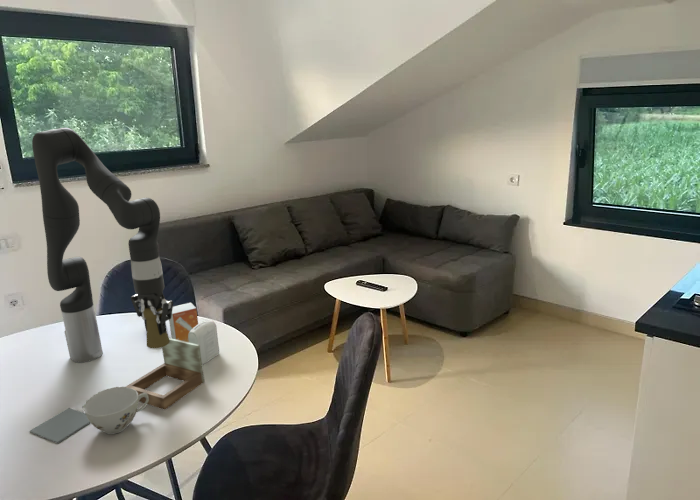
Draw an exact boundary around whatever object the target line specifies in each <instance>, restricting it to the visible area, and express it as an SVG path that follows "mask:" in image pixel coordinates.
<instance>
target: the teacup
mask: <svg viewBox="0 0 700 500" xmlns="http://www.w3.org/2000/svg"><path fill="white" fill-rule="evenodd" d="M142 397H145V398H146V402H145V403H142V405H141V406H140V407H139V403H140V402H139V400H140V399H141V398H142ZM148 401H149V397H148V394H147V393H142V394H140V395H138V393H137V391H136V390H134V389H132V388H127V387H126V386H115V387H110V388H106V389H103V390H100V391H99V392H97V393H95V394H93V395H92V396H90V398H89V399H87V400H86V401H85V403H84V404H83V406H82V409H83V413H85V414H86V416H87V418H88V420H89V421H90V422H91V423H90V424H91V425H92V426H93V427H94V428H95V429H97V430H98V431H101V432H104V433H105V434H109V435H112V434H113V435H114V434H118V433H121V432H123V431H124V430H125V429H126V428H127V427H129V425H130V424H131V423H132V421H133V420H134V419H135V417H136V414H137V413H139V412H140V411H142V410H143V409H145V407H146V406H147V405H148V404H147V403H148Z"/></svg>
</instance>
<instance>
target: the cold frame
mask: <svg viewBox="0 0 700 500" xmlns="http://www.w3.org/2000/svg"><path fill="white" fill-rule="evenodd" d="M169 341H170V342H169V344H167V345H166V346H164V347H161V351H162V355H163V363H162V364H161V365H159V366H158V367H155V368H154V369H152V370H151V371H149V372H147V373H146V374H143V376H141V377H139V378H138V379H136V380H134V381H133V382H131V383H129V384H126V386H125V387H127V388H132V389H134V390H136V391H137V393H138V395H140V394H142V393H147V394H148V397H149V401H148V403H147V405H148V406H152V407H154V408H157V409H161V410H164V411H166V410H167V409H169V408H170V407H172V406H173V405H174V404H176V403H177V402H178V401H180V400H181V399H183V398H184V397H185V396H187V395H188V394H190V393H191V392H192V391H194V390H195V389H197V388H198V387H200V386H202V384H204V383H205V377H204V369H203V365H202V360H201V353H200V345H197V344H193V343H189V342H185V341H181V340H176V339H172V338H171V337H169ZM166 377H168V378H172V379H175V380H178V381H182V382H181V383H180V384H178V385H176V386H175V387H173V388H172V389H170V390H169V391H168V392H166V393H164V394H160V393H157V392H154V391H151V390H147V389H148V388H150V387H151V386H153V385H154V384H156V383H157V382H159V381H160V380H162V379H164V378H166ZM145 402H146V398H145V397H142V398H141V399H140V400H139V403H142V404H144V403H145Z"/></svg>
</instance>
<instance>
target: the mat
mask: <svg viewBox="0 0 700 500" xmlns="http://www.w3.org/2000/svg"><path fill="white" fill-rule="evenodd" d="M90 424H91V422H90V421H89V420H88V418H87V416H86V414H85V412H84V411H83V412H82V411H81V410H80V411H79V410H77V409H74V408H73V407H72V408H71V407H68V408H65V410H62V411H61V412H59V413H57V414H56V415H55V416H53V417H51V418H49V419H47V420H45V421H44V422H42V423H41V424H39V425H37V426H35V427H33V428H31V429H29V433H31V434H33V435H36V436H37V437H41V438H43V439H45V440H49V441H50V442H53V443H55V444H59V443H61V442H62V441H64V440H66V439H67V438H69V437H71V436H72V435H74V434H75V433H77V432H78V431H80V430H82V429H83V428H85V427H86V426H88V425H90Z"/></svg>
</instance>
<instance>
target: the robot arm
mask: <svg viewBox="0 0 700 500" xmlns="http://www.w3.org/2000/svg"><path fill="white" fill-rule="evenodd" d="M31 146H32V154H33V159H34V163H35V167H36V171H37V173H36V174H37V177H38V180H39V189H40V197H41V208H42V210H41V212H42V220H43V227H44V232H45V242H46V265H47V266H46V270H47V279H48V282H49V286H50V287H51V289H52V290H54V291H55V292H62V291H67V290H71V289H74V290H73V291H72V292H71V293H70V294H68V295H67V296H65V297H64V298H63V299H62V300H61V301H60V303H59V307H60V312H61V316H62V320H63V326H64V337H65V340H66V344H67V351H68V354H69V358H71V361H72V362H74V363H88V362H91V361H95V360H96V359H99V357H100V356H101V357H102V354H103V353H104V352H103V347H102V341H101V335H100V330H99V325H98V321H97V320H98V319H97V315H96V311H95V305H94V300H93V299H94V298H93V292H92V285H91V277H90V276H91V275H90V271H89V267H88V264H87V262H86V260H85V258H83V257H82V256H74V257H70V258H67V259H66V258H65V259H64V255H65V252H66V250H67V248H68V246H69V245H70V243H72V241H73V239H74V238H75V237H76V234H77V233H78V230H79V228H80V221H81V220H80V207H79V203H78V201H77V200H76V198H75V197H74V196H73V195H72V194H71V193H70V192H69V191H68V189H67V188H66V187H65V186H64V185H63V184H62V183H61V181H60V178H59V173H58V166H59V165H64V164H68V163H72V162H76V163H78V164H79V165H81V166H83V168H84V172H85V179H86V183H87V186H88V188H89V189H90V191H91V192H92V193H93V194H94V196H96V197H97V198H98V199H100V201H102V202H103V203H104V204H105V205H106V206H107V207H108V209H109V211H110V213H111V214H112V216H113V217H114V219H115V220H116V222H117V223H118V225H119V226H121V227H122V228H123V229H126V230H136V229H138V231H137V233H136V234H135V235H132V237H130V239H128V251H129V256H130V258H129V259H130V270H131V277H132V282H133V288H134V292H135V294H134V295H132V296H130V300H131V303H132V306H133V308H134V310H135V313H136V315H137V317H138V318H139V317H140V318H142V320H143V321H144V322H143V324H144V329H145V332H147V319H145V317H144V314H143V311H144V310H145V308H151V311H152V312H153V314H154V315H155V316H156V321H157V327H158V331H159V334H160V335H162V334H163V333H166V331H167V332H168V330H167V323H166V322H167V321H169V319H171V316H172V309H173V307H174V301H173V300H171V299H170V300H167V299H166V297H165V295H164V289H165V281H164V273H163V267H162V266H163V265H162V262H161V258H160V252H159V245H158V237H159V229H160V222H161V211H160V208H159V206H158V204H157V202H156V201H155V200H154V199H153V198H151V197H142V198H138V199H133V200H131V199H132V195H133V194H132V191H131V189H130V187H129V186H128V185H127V184H125V182H123V181H122V180H121V179H120V178H119V177H117V176H116V175H115V174H114V173H113V172H111V171H110V170H109V168H107V166H106V165H104V164H103V162H102V161H101V160H100V158H99V157H98V156H97V155H96V153H95V152H94V151H93V150H92V148H91V147H90V146H89V145H88V144H87V143H86V142H85V140H84V139H83V138H82V137H81V136H80V134H79V133H77V132H76V131H75V130H73V129H71V128H68V127H59V128H54V129H53V128H52V129H48V130H42V131H38V132H36V133H35V134H34V135H33V137H32V141H31ZM160 308H162V310H160V311H158V312H157V311H156V310H158V309H160ZM161 313H162V317H161V318H160V316H159V314H161Z"/></svg>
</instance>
